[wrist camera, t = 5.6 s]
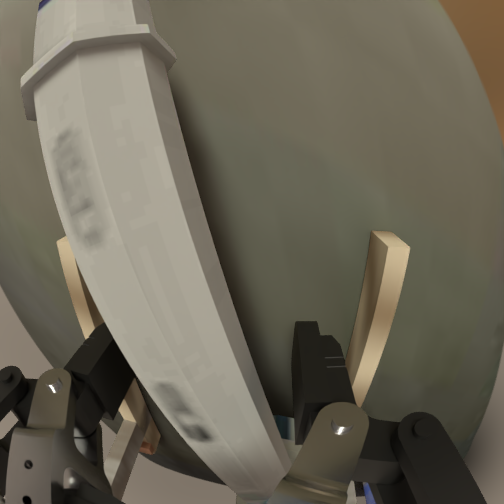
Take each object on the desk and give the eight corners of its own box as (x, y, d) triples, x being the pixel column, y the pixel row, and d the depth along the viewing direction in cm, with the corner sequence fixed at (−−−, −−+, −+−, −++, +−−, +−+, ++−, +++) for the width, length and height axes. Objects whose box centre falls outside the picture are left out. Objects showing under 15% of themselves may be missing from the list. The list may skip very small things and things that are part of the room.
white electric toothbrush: (131, -68, 2) (333, 542, 7) (197, 26, 9) (328, 459, 14) (-4, 37, 3) (239, 547, 8) (98, 77, 10) (252, 469, 15)
